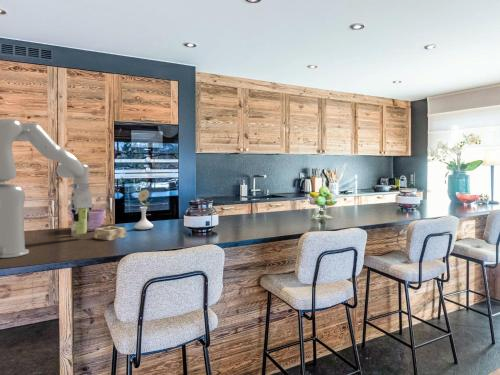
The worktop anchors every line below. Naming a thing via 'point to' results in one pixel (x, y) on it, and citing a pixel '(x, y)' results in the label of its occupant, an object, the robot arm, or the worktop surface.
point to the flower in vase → (143, 212)
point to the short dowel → (74, 230)
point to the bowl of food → (93, 219)
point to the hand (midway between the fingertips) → (81, 220)
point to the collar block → (110, 233)
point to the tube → (82, 221)
